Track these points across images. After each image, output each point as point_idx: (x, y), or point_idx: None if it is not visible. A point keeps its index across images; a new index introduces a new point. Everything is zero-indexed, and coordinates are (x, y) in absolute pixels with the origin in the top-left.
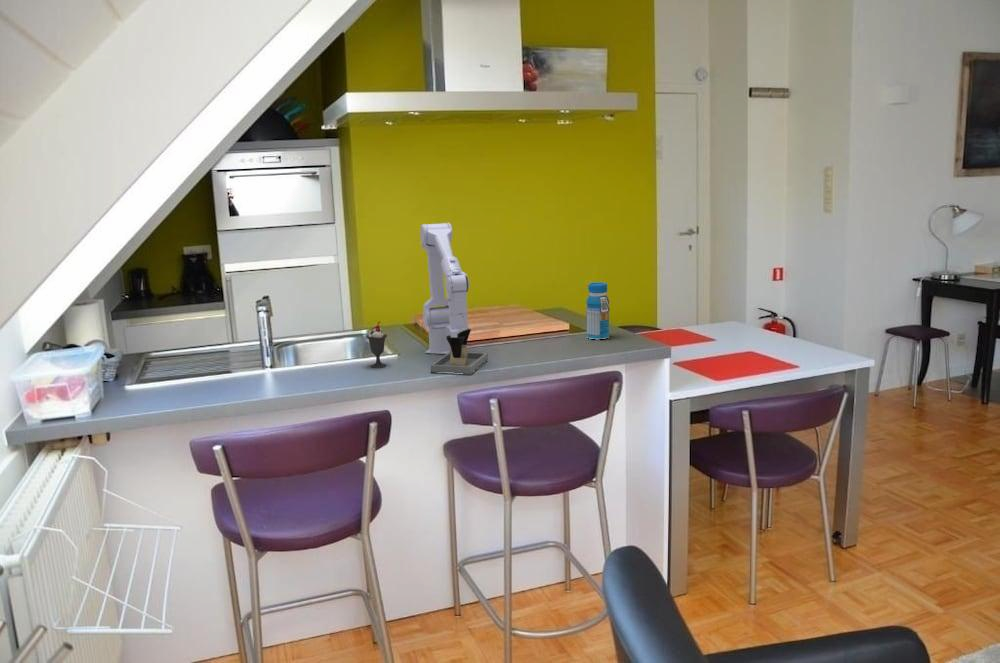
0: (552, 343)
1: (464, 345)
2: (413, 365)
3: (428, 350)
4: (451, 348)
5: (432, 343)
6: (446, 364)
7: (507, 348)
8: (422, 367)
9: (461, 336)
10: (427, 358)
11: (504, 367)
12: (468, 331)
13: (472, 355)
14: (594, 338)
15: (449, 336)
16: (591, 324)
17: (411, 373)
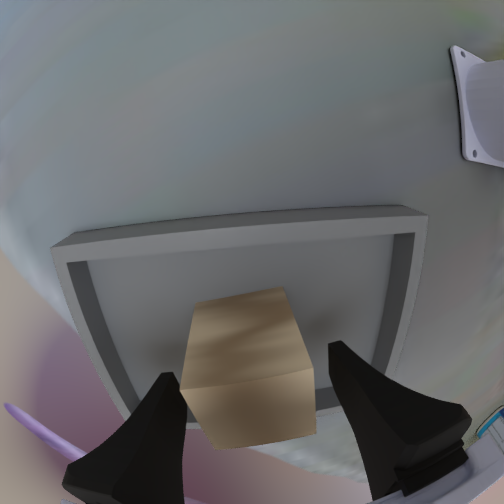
0: (492, 392)
1: (300, 430)
2: (199, 39)
3: (473, 58)
4: (128, 420)
5: (497, 77)
6: (233, 259)
7: (494, 341)
8: (164, 113)
9: (372, 446)
10: (381, 66)
11: (279, 444)
12: (374, 500)
13: (386, 343)
14: (481, 428)
15: (92, 499)
16: (495, 440)
17: (43, 133)
